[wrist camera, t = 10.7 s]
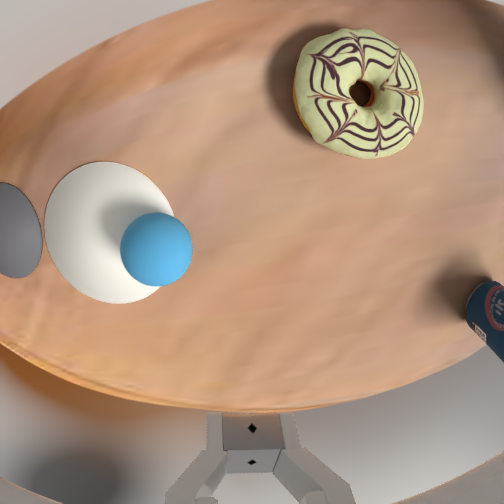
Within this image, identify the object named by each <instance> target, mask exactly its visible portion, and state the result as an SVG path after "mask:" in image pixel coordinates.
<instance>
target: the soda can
mask: <svg viewBox="0 0 504 504" xmlns="http://www.w3.org/2000/svg"><path fill="white" fill-rule="evenodd" d="M465 315H466V320H467V323H468V325H469V326H470V327H471V328H472V329H473V331H474V332H475V333H476V334H477V335H478V336H479V337H480V338H481V339H482V340H483V341H484V342H485V343H486V344H487V345H488V346H489V347H490V348H491V349H492V350H493V351H494V352H495V353H496V355H497V356H498V357H499V358H500V359H501V360H502V361H503V362H504V286H502V285H501V284H500V283H498V282H496V281H487V282H483V283H481V284H479V285H478V286H477V287H476V288H475V289H474V290H473V292H472V293H471V295H470V296H469V298H468V300H467V303H466V306H465Z"/></svg>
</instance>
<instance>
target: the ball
mask: <svg viewBox="0 0 504 504" xmlns="http://www.w3.org/2000/svg"><path fill="white" fill-rule="evenodd" d="M120 255H121V259H122V263H123V265H124V267H125V269H126V271H127V272H128V273H129V274H130V275H131V276H132V277H133V278H134V279H135V280H137V281H138V282H140V283H142V284H145V285H148V286H164V285H168V284H170V283H172V282H174V281H176V280H177V279H179V278H180V277H181V276H182V275H183V274H184V273H185V271H186V270H187V268H188V266H189V264H190V261H191V257H192V241H191V238H190V235H189V233H188V231H187V229H186V228H185V226H184V225H183V224H182V223H181V222H180V221H179V220H178V219H176V218H175V217H173V216H171V215H168V214H165V213H160V212H154V213H148V214H144V215H142V216H140V217H138V218H136V219H135V220H134V221H132V222H131V223H130V224H129V226H128V227H127V228H126V230H125V232H124V234H123V236H122V239H121V245H120Z"/></svg>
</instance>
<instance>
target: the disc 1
mask: <svg viewBox="0 0 504 504" xmlns="http://www.w3.org/2000/svg"><path fill="white" fill-rule="evenodd" d="M41 253H42V232H41V227H40V223H39V219H38V217H37V214H36V212H35V210H34V208H33V206H32V204H31V202H30V201H29V199H28V198H27V197H26V196H25V195H24V194H23V193H22V192H21V191H20V190H19V189H18V188H16V187H15V186H13V185H10V184H7V183H0V273H2V274H4V275H5V276H8V277H11V278H23V277H25V276H27V275H29V274H30V273H31V272H32V271H33V270H34V269H35V268H36V266H37V265H38V263H39V260H40V257H41Z"/></svg>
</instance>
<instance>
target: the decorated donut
mask: <svg viewBox="0 0 504 504" xmlns="http://www.w3.org/2000/svg"><path fill="white" fill-rule="evenodd" d="M356 80H357V81H360V82H364V83H365V84H366V85H367V86H368V87H369V88H370V91H371V94H370V99H369V102H368V103H366V105H364V106H363V107H361V106H358V105H357V104H356V103H355V101H354V100H353V99H352V98H351V96H350V95H349V88H350V86H351V85H353V84H355V83H356ZM292 99H293V102H294V105H295V110H296V112H297V113H298V115H299V118H300V120H301V122H302V124H303V125H304V127H305V128H306V129H307V131H308V132H310V133H311V135H312V136H313V139H314V141H315V142H317V143H318V144H320V145H323V146H325V147H327V148H329V149H331V150H333V151H335V152H337V153H341V154H344V155H347V156H351V157H358V158H360V159H373V158H378V157H386V156H390V155H392V154H394V153H396V152H398V151H401V150H402V149H404V148H405V147H406V146H407V145H408V144H409V142H410V140H411V139H412V138H413V137H414V135H415V134H416V132H417V130H418V128H419V126H420V124H421V120H422V116H423V107H424V102H423V96H422V90H421V86H420V82H419V77H418V74H417V71H416V69H415V66H414V64H413V62H412V60H411V59H410V58H409V57H408V56H407V55H406V54H405V53H404V52H403V51H402V50H401V48H400V47H398V46H397V45H396V44H394V43H393V42H391V41H390V40H388V39H386V38H384V37H382V36H380V35H378V34H376V33H375V32H373V31H372V30H368V29H357V30H351V29H347V28H342V29H339V30H338V31H336V32H334V33H332V34H327V35H324V36H320V37H317V38H315V39H313V40H312V41H310V42H309V43H307V44H306V45H305V47H304V48H303V49H302V51H301V54H300V59H299V61H298V63H297V67H296V73H295V76H294V82H293V98H292Z"/></svg>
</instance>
